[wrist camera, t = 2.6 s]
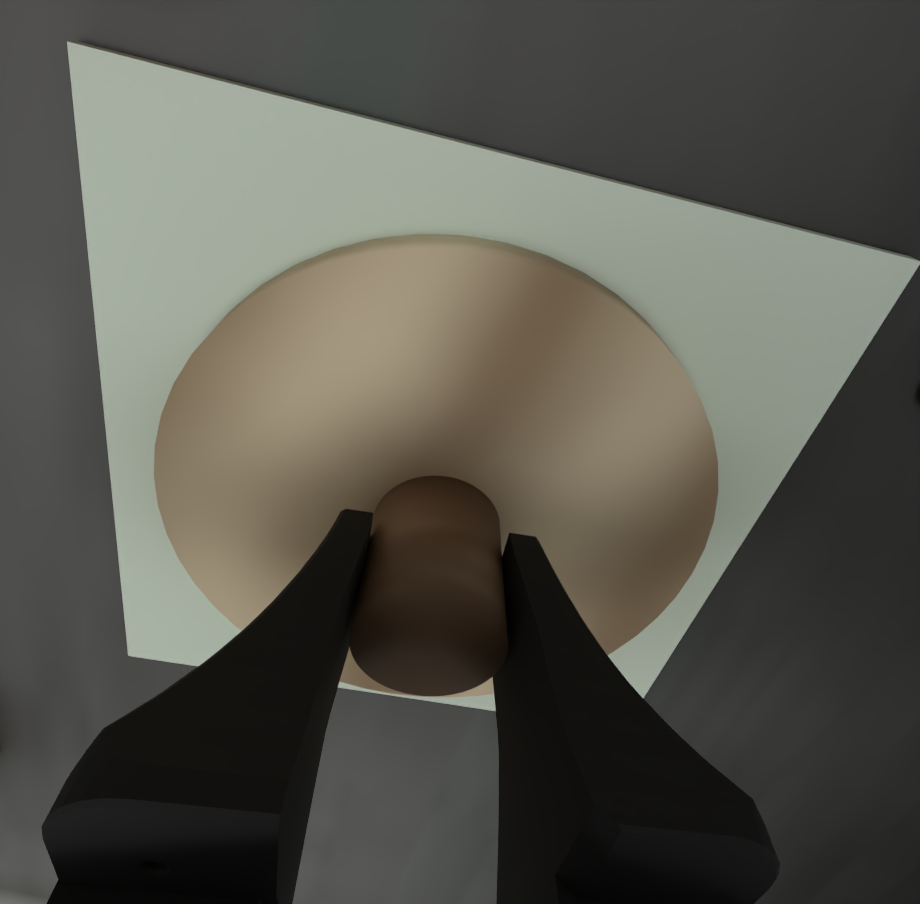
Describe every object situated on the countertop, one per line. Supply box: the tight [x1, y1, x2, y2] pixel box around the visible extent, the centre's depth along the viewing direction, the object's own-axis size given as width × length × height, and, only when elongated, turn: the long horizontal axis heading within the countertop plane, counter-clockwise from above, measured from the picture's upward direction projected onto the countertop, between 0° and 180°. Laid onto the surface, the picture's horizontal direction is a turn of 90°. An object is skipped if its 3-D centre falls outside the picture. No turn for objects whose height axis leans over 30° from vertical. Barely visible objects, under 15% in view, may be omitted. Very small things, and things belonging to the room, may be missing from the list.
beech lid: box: [154, 234, 718, 697], centre depth 13 cm, size 13×13×4 cm
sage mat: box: [67, 41, 920, 711], centre depth 16 cm, size 16×16×1 cm
